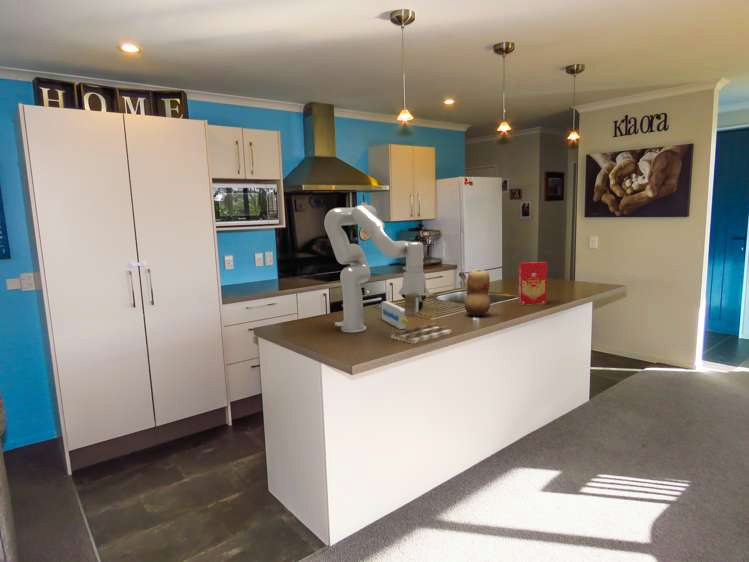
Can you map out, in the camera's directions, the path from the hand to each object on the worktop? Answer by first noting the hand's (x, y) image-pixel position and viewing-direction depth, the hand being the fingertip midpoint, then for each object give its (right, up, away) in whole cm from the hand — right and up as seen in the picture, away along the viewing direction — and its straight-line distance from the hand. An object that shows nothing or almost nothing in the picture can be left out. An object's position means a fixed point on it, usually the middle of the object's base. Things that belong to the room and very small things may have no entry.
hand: (414, 308), depth 217 cm
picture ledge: (+4, -13, +4) cm, 14 cm away
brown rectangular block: (0, -2, 0) cm, 2 cm away
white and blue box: (-8, -10, +26) cm, 29 cm away
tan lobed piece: (+38, -6, +42) cm, 57 cm away
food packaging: (+76, -1, +68) cm, 102 cm away
